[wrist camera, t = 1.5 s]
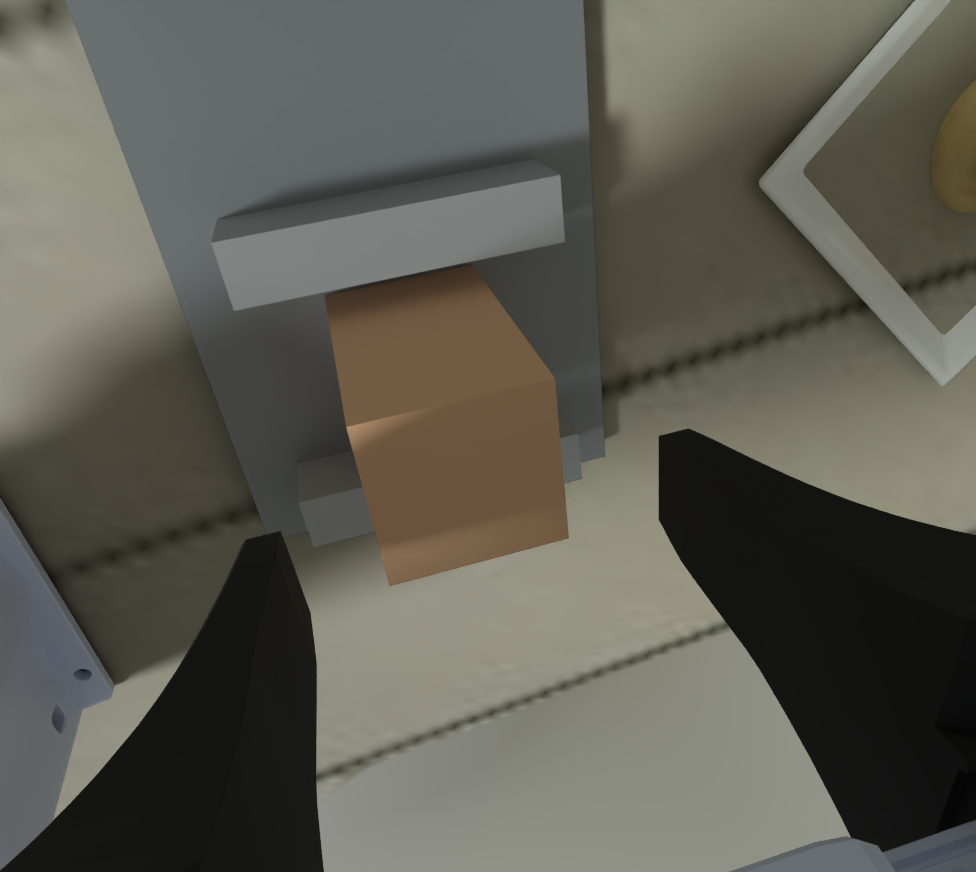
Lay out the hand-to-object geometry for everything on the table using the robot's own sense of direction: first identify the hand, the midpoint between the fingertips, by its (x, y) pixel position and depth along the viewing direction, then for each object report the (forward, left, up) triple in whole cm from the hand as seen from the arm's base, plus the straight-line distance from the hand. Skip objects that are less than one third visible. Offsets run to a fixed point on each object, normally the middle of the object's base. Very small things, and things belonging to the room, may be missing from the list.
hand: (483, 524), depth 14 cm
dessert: (+2, -19, -10) cm, 22 cm away
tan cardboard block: (0, 0, -8) cm, 8 cm away
